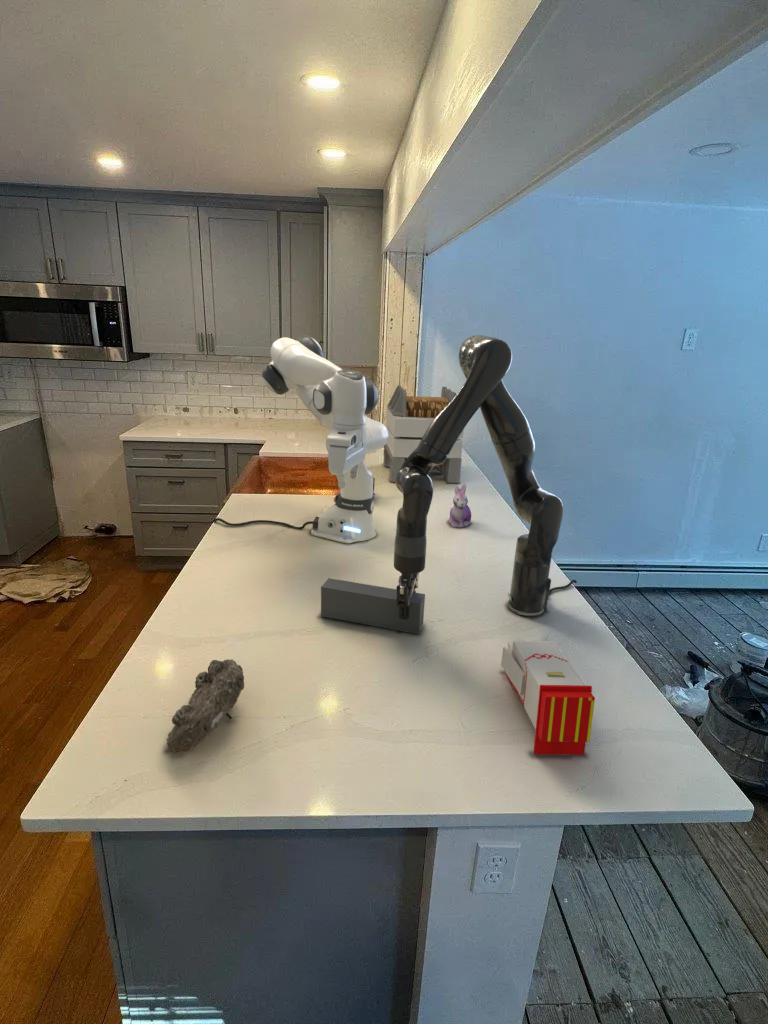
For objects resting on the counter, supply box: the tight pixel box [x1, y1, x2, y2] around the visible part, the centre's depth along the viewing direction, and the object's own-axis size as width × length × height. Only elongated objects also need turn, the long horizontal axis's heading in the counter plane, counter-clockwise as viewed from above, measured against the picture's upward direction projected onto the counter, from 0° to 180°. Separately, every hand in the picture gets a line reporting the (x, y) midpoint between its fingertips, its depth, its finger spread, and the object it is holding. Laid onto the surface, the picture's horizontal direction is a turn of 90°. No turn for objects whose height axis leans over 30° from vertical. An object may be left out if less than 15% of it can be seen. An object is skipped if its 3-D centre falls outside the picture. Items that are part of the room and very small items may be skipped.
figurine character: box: [373, 477, 376, 497], centre depth 233 cm, size 7×8×15 cm
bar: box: [320, 577, 426, 635], centre depth 142 cm, size 26×5×8 cm, turn 74°
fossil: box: [166, 658, 245, 754], centre depth 106 cm, size 22×10×15 cm
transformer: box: [383, 384, 465, 484], centre depth 268 cm, size 34×33×41 cm
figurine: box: [448, 483, 472, 528], centre depth 209 cm, size 9×10×15 cm
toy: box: [500, 640, 596, 756], centre depth 114 cm, size 12×13×30 cm
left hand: (348, 482), depth 156 cm, fingers open, 8 cm apart
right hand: (406, 612), depth 140 cm, fingers closed on bar, 5 cm apart
